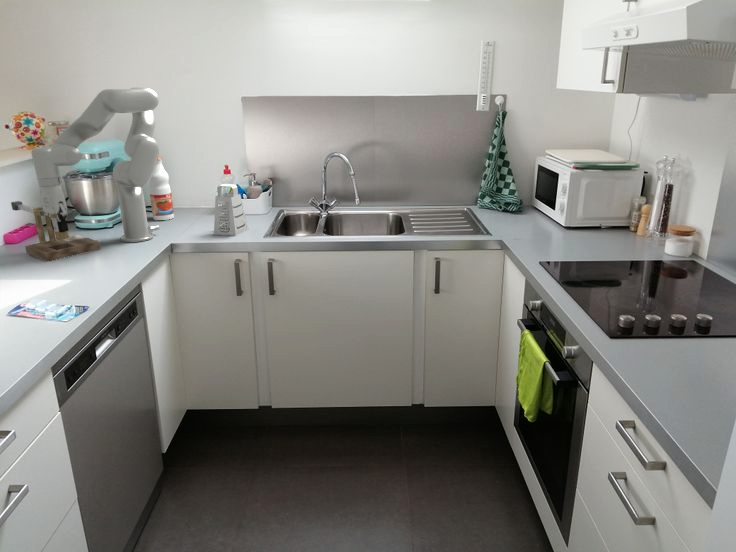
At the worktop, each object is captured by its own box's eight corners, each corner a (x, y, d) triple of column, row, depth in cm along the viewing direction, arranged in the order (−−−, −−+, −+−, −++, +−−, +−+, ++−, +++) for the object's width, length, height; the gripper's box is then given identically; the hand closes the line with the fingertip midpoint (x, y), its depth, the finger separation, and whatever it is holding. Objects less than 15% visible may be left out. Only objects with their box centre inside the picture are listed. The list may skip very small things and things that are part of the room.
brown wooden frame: (78, 242, 238) (71, 201, 233) (100, 249, 228) (93, 207, 223) (26, 253, 223) (17, 211, 218) (47, 261, 213) (38, 217, 208)
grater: (235, 235, 244) (231, 187, 238) (213, 234, 247) (209, 186, 241) (248, 229, 254) (244, 183, 247) (227, 228, 257) (222, 182, 250)
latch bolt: (20, 208, 239) (18, 201, 238) (50, 216, 224) (48, 209, 223) (12, 209, 237) (10, 202, 236) (42, 218, 222) (40, 210, 221)
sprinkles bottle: (70, 238, 220) (62, 203, 216) (56, 241, 218) (48, 205, 213) (68, 236, 224) (60, 201, 219) (55, 238, 222) (47, 203, 217)
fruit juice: (165, 215, 281) (157, 156, 272) (178, 217, 276) (171, 157, 267) (148, 219, 274) (140, 158, 264) (162, 222, 269) (154, 160, 259)
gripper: (28, 181, 216) (40, 229, 222) (50, 186, 206) (61, 236, 212) (49, 178, 221) (60, 225, 228) (71, 182, 211) (81, 231, 218)
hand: (60, 230), depth 220 cm, fingers closed on sprinkles bottle, 4 cm apart
